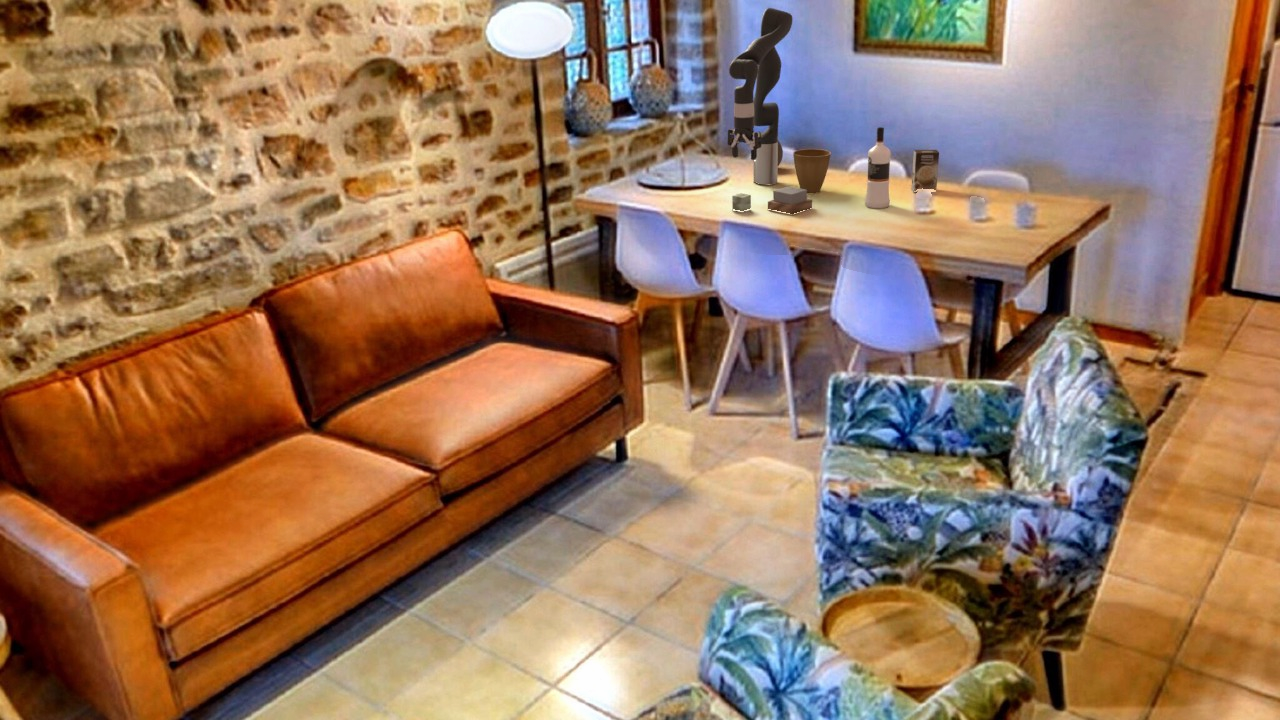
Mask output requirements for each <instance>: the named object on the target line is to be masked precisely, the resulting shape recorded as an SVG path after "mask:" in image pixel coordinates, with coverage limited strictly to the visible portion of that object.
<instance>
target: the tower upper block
mask: <svg viewBox="0 0 1280 720" xmlns="http://www.w3.org/2000/svg"><path fill="white" fill-rule="evenodd" d="M772 195H773V196H772V197H773V198H772V200H773V201H775V202H780V203H785V204H790V205H792V204H796V203H799V202H802V201H805V200H807V199H808V193H807V190H806V189H800V187H794V186H785V187H781V188H779V189H775V190H773V193H772Z"/></svg>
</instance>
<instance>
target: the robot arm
mask: <svg viewBox="0 0 1280 720" xmlns="http://www.w3.org/2000/svg"><path fill="white" fill-rule="evenodd" d="M793 19H794V18H793V15H792V14H791V13H790V12H786V11H784V10H780V9H777V8H772V7H768V8H766V9H765V10H764V12H763V13H762V17H761V21H760V37H758V38H756V39H754V40H753V41H752V42H751V43H750V44H749V45H748V47H747V48H746V50H745V51H743V52H742V53H740V54H739V55H737V56H736V57H735V58H734V59H733V60H732V61H731V63H730V64H729V68H728V72H729V73H728V74H729V76H730V77H731V78H732V79H735V80H745V82H744V85H743V84H742V85H737V86H736V87H734V99H733V100H734V105H733V128H729V129H728V130H727V146H730V147H731V152H732V153H731V155H732V158H738V157H739V146H738V145H739V144H740V143H744V144H747V145H748V147H750V149H751V150H750V160H752V161H753V183H754V182H757V183H759V184H774V183H777V184H778V178H779V177H778V169H779V166H778V141H779V119H780V109H779V106H778V103H777V102H765V100H766V98H767V96H768V95H769V93H771V91H772V90H773V89H775V87H776V86H777V84H778V82H779V81H780V77H781V72H782V60H781V57H780V55H779V53H778V51H777V48H776V47H775V46H777V44H779V43H780V42H781V41H782V40H783V39H784V38H785V37H787V35H788V34H789V33H790V31H791V29H792V26H793V21H794V20H793ZM754 90H755V92H754ZM754 127H767V128H766V129H765V130H764V131H762V132H761V131H754ZM774 185H775V184H774Z"/></svg>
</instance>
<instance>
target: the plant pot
mask: <svg viewBox="0 0 1280 720" xmlns="http://www.w3.org/2000/svg"><path fill="white" fill-rule="evenodd" d="M792 153H793V154H792V155H793V164H794V170H795V174H796V179H797V182H798V185H799V188H800V189H806V190H807V194H808V193H813V194H819V193H820V191H821V190H822V187H823V184H824V183H825V179H826V176H827V172H828V169H829V165H830V164H829V163H830V160H831V155H832V153H831V151H829V150H826V149H821V148H820V149H819V148H818V149H817V148H805V149H804V148H803V149H798V150H794V151H793V152H792ZM818 192H819V193H818Z"/></svg>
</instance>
